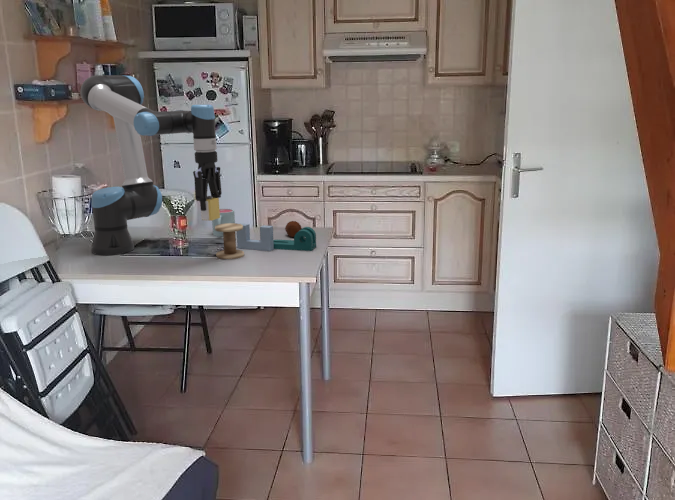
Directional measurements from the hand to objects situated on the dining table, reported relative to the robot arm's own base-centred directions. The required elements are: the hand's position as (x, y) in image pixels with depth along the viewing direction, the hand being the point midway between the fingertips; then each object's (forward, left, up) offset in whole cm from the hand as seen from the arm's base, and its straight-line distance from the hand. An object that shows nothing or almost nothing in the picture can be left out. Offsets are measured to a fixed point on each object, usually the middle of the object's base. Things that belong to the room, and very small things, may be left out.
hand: (210, 217), depth 219 cm
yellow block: (0, 0, 0) cm, 0 cm away
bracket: (+19, +26, -16) cm, 36 cm away
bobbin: (+2, +8, -16) cm, 18 cm away
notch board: (+6, +20, -16) cm, 26 cm away
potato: (+11, +44, -16) cm, 48 cm away
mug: (-17, +35, -16) cm, 42 cm away
